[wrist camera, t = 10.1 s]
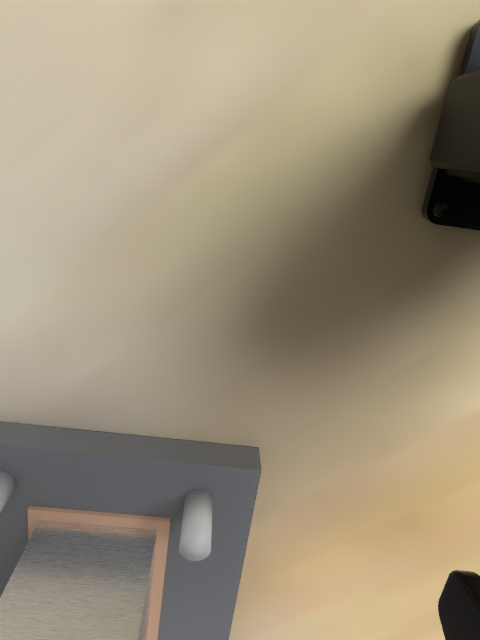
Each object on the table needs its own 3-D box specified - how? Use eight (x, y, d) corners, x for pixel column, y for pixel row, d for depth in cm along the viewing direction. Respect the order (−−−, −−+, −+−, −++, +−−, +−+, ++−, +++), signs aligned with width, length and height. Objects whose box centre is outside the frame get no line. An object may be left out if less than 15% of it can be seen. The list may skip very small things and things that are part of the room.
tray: (258, 447, 20) (265, 516, 16) (215, 678, 26) (213, 768, 22) (-43, 417, 19) (-107, 482, 16) (-19, 663, 25) (-62, 755, 21)
